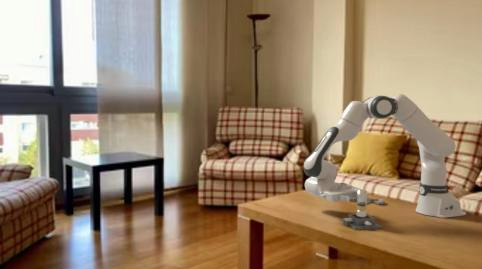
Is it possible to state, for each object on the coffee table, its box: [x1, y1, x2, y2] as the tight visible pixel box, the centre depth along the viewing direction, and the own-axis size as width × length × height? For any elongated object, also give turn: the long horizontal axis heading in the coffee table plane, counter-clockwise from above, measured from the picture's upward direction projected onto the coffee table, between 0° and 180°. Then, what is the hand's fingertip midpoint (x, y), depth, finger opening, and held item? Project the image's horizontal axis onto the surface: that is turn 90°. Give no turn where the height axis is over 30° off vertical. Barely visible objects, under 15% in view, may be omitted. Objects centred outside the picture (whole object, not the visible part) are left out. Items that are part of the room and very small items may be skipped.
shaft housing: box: [341, 213, 382, 231], centre depth 180 cm, size 14×14×4 cm
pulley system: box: [349, 196, 385, 206], centre depth 224 cm, size 27×5×15 cm
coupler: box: [356, 188, 368, 219], centre depth 180 cm, size 4×4×14 cm
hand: (357, 198), depth 182 cm, fingers open, 8 cm apart
